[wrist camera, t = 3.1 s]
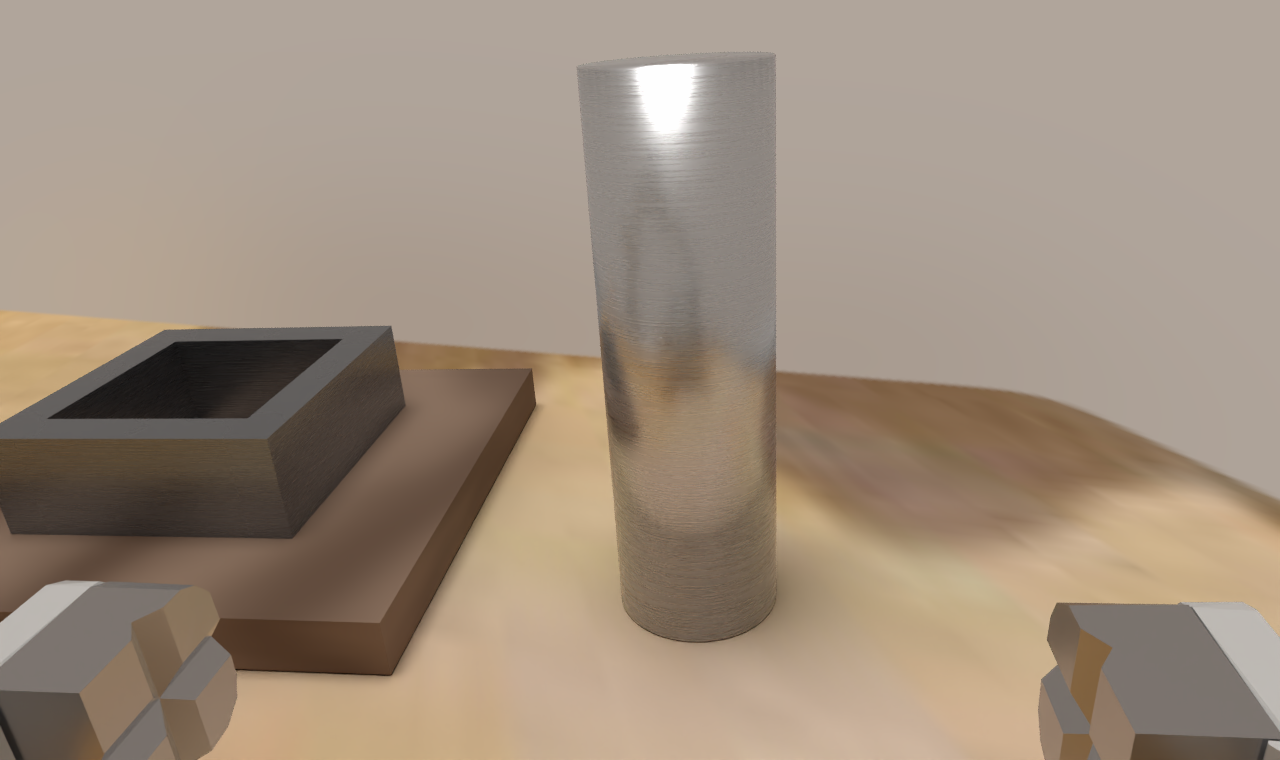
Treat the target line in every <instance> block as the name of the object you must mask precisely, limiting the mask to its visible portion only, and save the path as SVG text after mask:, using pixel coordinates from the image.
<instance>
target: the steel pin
mask: <svg viewBox="0 0 1280 760" xmlns="http://www.w3.org/2000/svg"><path fill="white" fill-rule="evenodd" d="M775 59H776V55H775V54H774V53H765V52H720V53H696V54H679V55H663V56H650V57H638V58H627V59H618V60H609V61H601V62H594V63H589V64H583V65H580V66H578V67H577V75H578V86H579V87H578V88H579V98H580V111H581V122H582V134H583V147H584V158H585V170H586V182H587V193H588V205H589V216H590V229H591V240H592V251H593V264H594V275H595V287H596V298H597V311H598V323H599V334H600V346H601V358H602V369H603V381H604V393H605V405H606V416H607V428H608V440H609V452H610V463H611V475H612V487H613V498H614V510H615V522H616V534H617V545H618V557H619V569H620V581H621V592H622V602H623V605H624V608H625V610H626V611H627V613H628V614H629V616H630V617H631V618H632V619H633V620H634V621H635V622H636V623H637V624H638V625H640V626H641V627H643V628H644V629H646V630H648V631H650V632H652V633H654V634H657V635H659V636H662V637H666V638H669V639H674V640H680V641H690V642H706V641H716V640H721V639H726V638H729V637H733V636H736V635H739V634H741V633H743V632H746V631H748V630H749V629H751V628H753V627H755V626H756V625H757V624H759V623H760V622H761V621H762V620H763V619H764V618H766V617H767V615H768V614H769V613H770V611H771V610H772V608H773V606H774V603H775V600H776V93H775V92H776V82H775V81H776V80H775V79H776V69H775V68H776V63H775V62H776V60H775Z"/></svg>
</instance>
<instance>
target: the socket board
mask: <svg viewBox="0 0 1280 760" xmlns="http://www.w3.org/2000/svg"><path fill="white" fill-rule="evenodd" d="M399 371H400V377H401V382H402V388H403V393H404V399H405V404H406V406H405V407H404V408H403V409H402V411H401V412H400V413H399V414H398V415H397V417H396V418H395V419H394V420H393V421H392V422H391V424H390V425H389V426H388V427H387V428H386V429H385V431H384V432H383V433H382V434H381V435H380V437H379V438H378V439H377V440H376V441H375V442H374V444H373V445H372V446H371V447H370V448H369V449H368V451H367V452H366V453H365V454H364V455H363V456H362V458H361V459H360V460H359V461H358V462H357V464H356V465H355V466H354V467H353V468H352V469H351V471H350V472H349V473H348V474H347V475H346V476H345V478H344V479H343V480H342V481H341V482H340V484H339V485H338V486H337V487H336V488H335V489H334V491H333V492H332V493H331V494H330V495H329V496H328V498H327V499H326V500H325V501H324V502H323V503H322V505H321V506H320V507H319V508H318V509H317V511H316V512H315V513H314V514H313V515H312V516H311V518H310V519H309V520H308V521H307V522H306V523H305V525H304V526H303V527H302V528H301V529H300V531H299V532H298V533H297V534H296V535H295V536H294V538H293V539H268V538H208V537H148V536H88V535H28V534H11V533H10V530H9V528H8V525H7V523H6V520H5V518H4V515H3V513H2V510H1V508H0V622H2V621H3V620H4V619H5V618H7V617H8V616H9V615H10V614H11V613H13V612H14V611H15V610H16V609H18V608H19V607H20V606H21V605H22V604H24V603H25V602H26V601H27V600H29V599H30V598H31V597H32V596H33V595H35V594H36V593H37V592H38V591H39V590H41V589H42V588H43V587H44V586H46V585H49V584H53V583H57V582H61V581H65V580H67V581H100V582H109V581H111V582H134V583H157V584H180V585H196V586H198V587H200V588H202V589H204V590H206V591H208V592H210V594H211V597H212V599H213V602H214V605H215V608H216V610H217V613H218V616H219V618H220V620H219V622H218V624H217V626H216V628H215V630H214V632H213V634H212V636H211V637H213V638H214V639H215V640H216V641H217V642H218V643H219V644H220V645H221V646H222V647H223V648H224V649H225V650H226V651H227V652H229V653H230V654H231V657H232V660H233V664H234V667H235V669H253V670H279V671H306V672H332V673H358V674H385V675H391V674H392V672H393V670H394V668H395V666H396V665H397V663H398V661H399V659H400V657H401V655H402V653H403V651H404V650H405V648H406V646H407V644H408V642H409V640H410V638H411V637H412V635H413V633H414V631H415V629H416V627H417V625H418V623H419V622H420V620H421V618H422V616H423V614H424V612H425V610H426V609H427V607H428V605H429V603H430V601H431V599H432V597H433V595H434V594H435V592H436V590H437V588H438V586H439V584H440V582H441V581H442V579H443V577H444V575H445V573H446V571H447V569H448V567H449V566H450V564H451V562H452V560H453V558H454V556H455V554H456V553H457V551H458V549H459V547H460V545H461V543H462V541H463V539H464V538H465V536H466V534H467V532H468V530H469V528H470V526H471V525H472V523H473V521H474V519H475V517H476V515H477V513H478V511H479V510H480V508H481V506H482V504H483V502H484V500H485V498H486V497H487V495H488V493H489V491H490V489H491V487H492V485H493V484H494V482H495V480H496V478H497V476H498V474H499V472H500V470H501V469H502V467H503V465H504V463H505V461H506V459H507V457H508V456H509V454H510V452H511V450H512V448H513V446H514V444H515V442H516V441H517V439H518V437H519V435H520V433H521V431H522V429H523V428H524V426H525V424H526V422H527V420H528V418H529V416H530V414H531V413H532V411H533V409H534V407H535V405H536V400H535V391H534V383H533V374H532V369H444V370H399Z"/></svg>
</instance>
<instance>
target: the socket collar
mask: <svg viewBox="0 0 1280 760" xmlns="http://www.w3.org/2000/svg"><path fill="white" fill-rule="evenodd" d="M405 406H406V404H405V399H404V393H403V388H402V382H401V377H400V371H399V366H398V360H397V355H396V349H395V344H394V338H393V333H392V329H391V326H358V327H308V328H307V327H305V328H304V327H302V328H301V327H300V328H243V329H186V330H164V331H162V332H160V333H158V334H157V335H155V336H153V337H151V338H150V339H148V340H146V341H144V342H142V343H141V344H139V345H137V346H135V347H134V348H132V349H130V350H128V351H127V352H125V353H123V354H121V355H120V356H118V357H116V358H114V359H113V360H111V361H109V362H107V363H105V364H104V365H102V366H100V367H98V368H97V369H95V370H93V371H91V372H90V373H88V374H86V375H84V376H83V377H81V378H79V379H77V380H76V381H74V382H72V383H70V384H68V385H67V386H65V387H63V388H61V389H60V390H58V391H56V392H54V393H53V394H51V395H49V396H47V397H46V398H44V399H42V400H40V401H38V402H37V403H35V404H33V405H31V406H30V407H28V408H26V409H24V410H23V411H21V412H19V413H17V414H16V415H14V416H12V417H10V418H9V419H7V420H5V421H3V422H1V423H0V508H1V510H2V513H3V515H4V518H5V520H6V523H7V525H8V528H9V530H10V533H11V534H28V535H88V536H148V537H208V538H268V539H293V538H294V536H295V535H296V534H297V533H298V532H299V531H300V529H301V528H302V527H303V526H304V525H305V523H306V522H307V521H308V520H309V519H310V518H311V516H312V515H313V514H314V513H315V512H316V511H317V509H318V508H319V507H320V506H321V505H322V503H323V502H324V501H325V500H326V499H327V498H328V496H329V495H330V494H331V493H332V492H333V491H334V489H335V488H336V487H337V486H338V485H339V484H340V482H341V481H342V480H343V479H344V478H345V476H346V475H347V474H348V473H349V472H350V471H351V469H352V468H353V467H354V466H355V465H356V464H357V462H358V461H359V460H360V459H361V458H362V456H363V455H364V454H365V453H366V452H367V451H368V449H369V448H370V447H371V446H372V445H373V444H374V442H375V441H376V440H377V439H378V438H379V437H380V435H381V434H382V433H383V432H384V431H385V429H386V428H387V427H388V426H389V425H390V424H391V422H392V421H393V420H394V419H395V418H396V417H397V415H398V414H399V413H400V412H401V411H402V409H403V408H404V407H405Z"/></svg>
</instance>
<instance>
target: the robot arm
mask: <svg viewBox="0 0 1280 760" xmlns="http://www.w3.org/2000/svg"><path fill="white" fill-rule="evenodd" d="M219 620H220V618H219V616H218V613H217V610H216V608H215V605H214V602H213V599H212V597H211V594H210V592H208V591H206V590H204V589H202V588H200V587H198V586H196V585H180V584H157V583H134V582H111V581H109V582H100V581H67V580H65V581H61V582H57V583H53V584H49V585H46V586H44V587H43V588H42V589H41V590H39V591H38V592H37V593H36V594H35V595H33V596H32V597H31V598H30V599H29V600H27V601H26V602H25V603H24V604H22V605H21V606H20V607H19V608H18V609H16V610H15V611H14V612H13V613H11V614H10V615H9V616H8V617H7V618H5V619H4V620H3V621H2V622H0V760H198V759H199V758H201V757H202V756H204V755H205V754H207V753H209V752H210V751H212V750H213V748H214V747H215V745H216V744H217V742H218V741H219V739H220V738H221V736H222V735H223V733H224V732H225V731H226V729H227V728H228V725H229V722H230V719H231V716H232V712H233V709H234V706H235V703H236V699H237V674H236V670H235V667H234V664H233V660H232V657H231V654H230V653H229V652H227V651H226V650H225V649H224V648H223V647H222V646H221V645H220V644H219V643H218V642H217V641H216V640H215V639H214V638H213V637H211V636H212V634H213V632H214V630H215V628H216V626H217V624H218V622H219ZM1047 641H1048V643H1049V646H1050V648H1051V650H1052V652H1053V655H1054V657H1055V659H1056V661H1057V664H1058V665H1057V666H1055V667H1054V668H1053V669H1052V670H1051V671H1050V672H1049V673H1048V674H1047V675H1046V676H1045V677H1044V678H1042V679H1041V687H1040V697H1039V706H1038V714H1039V728H1040V741H1041V746H1042V750H1043V754H1044V758H1045V760H1280V637H1279V636H1278V635H1277V633H1276V632H1275V631H1274V630H1273V629H1272V627H1271V626H1270V625H1269V624H1268V623H1267V621H1266V620H1265V619H1264V618H1263V617H1262V615H1261V614H1260V613H1259V612H1258V611H1257V610H1256V609H1255V608H1253V607H1251V606H1249V605H1247V604H1245V603H1243V602H1180V603H1179V604H1178V605H1173V604H1109V603H1057V604H1056V606H1055V608H1054V610H1053V613H1052V615H1051V618H1050V624H1049V630H1048V637H1047Z"/></svg>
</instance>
